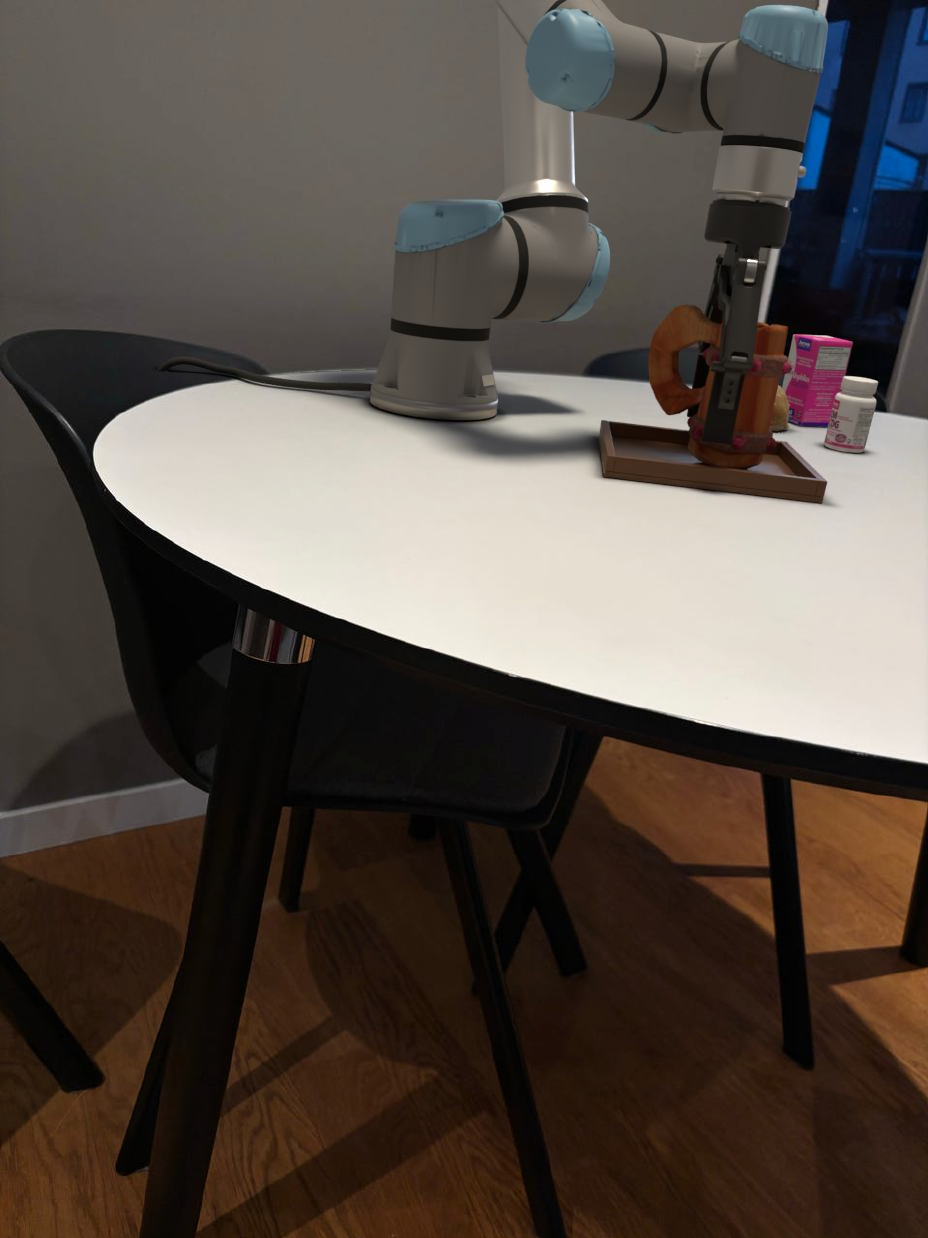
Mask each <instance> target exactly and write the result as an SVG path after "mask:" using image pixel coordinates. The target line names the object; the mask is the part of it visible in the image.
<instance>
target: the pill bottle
mask: <svg viewBox="0 0 928 1238" xmlns="http://www.w3.org/2000/svg"><path fill="white" fill-rule="evenodd" d="M878 385H879V382H878V380H875V379H872V378H867V377H862V376H852V375H845V376H844V377H843V380H842V383H841V389H842V391H841V392H839V393H837V394H836V396H835V399H834V403H833V408H832V412H831V416H830V420H829V424H828V427H827V429H826V433H825V437H824V442H823V445H824V446H825V447H826V448H827V449H831V450H833V451H838V452H843V453H851V454H852V453H854V454H861V453H863V452H864V451H865V450H866V449H865V448H866V446H867V441H868V438H869V434H870V429H871V426H872V422H873V418H874V415H875V410H876V407H877V399H876V398H875V397H874V395H875V394H876V392H877V388H878Z"/></svg>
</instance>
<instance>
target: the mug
mask: <svg viewBox="0 0 928 1238" xmlns="http://www.w3.org/2000/svg"><path fill="white" fill-rule="evenodd" d="M704 313H705V312H703V310H702V309H701V308H700V307H699V306H697V305H695V304H688V303H687V304H680V305H678V306H675V307H674V308H673V309H672V310H671V311H670V312H669V313H668V314H666V316H665V317H664V318H663V319H662V321H661V322H660V324H659V325H658V326H657V328H656V330H655V332H654V333H653V335H652V338H651V342H650V345H649V352H648V353H649V354H648V376H649V377H648V378H649V385H650V388H651V390H652V393H653V396H654V398H655V400H656V402H657V403H658V405H659V407H660V408H661V411H663V412H664V413H665V415H667V416H675V415H679V414H682V413H683V412H686V411H688V409H689V408H692V407H694V406H696V405H698V404H700V405H699V409H698V413H697V414H695V415H694V416H691V417H688V418H687V421H686V423H687V427H688V430H689V435H690V440H689V443H688V449H689V452H690V453H691V454H692V455H693V456H694V457H695V458H696V459H698V460H699V461H701V462H702V463H705V464H707V465H710V466H715V467H723V468H731V469H740V470H743V469H748V468H751V467H754V466H758V465H759V464H760V463H761V461H762V459H763V455H764V453H765V452H767V451H770V450H772V449H774V448H775V446H776V444H777V443H776V441H777V440H776V439H775V438H774V433H773V431H771V430H770V429H769V427H770V422H771V418H772V413H773V408H774V403H775V399H776V394H777V390H778V385H779V384H780V378H782V377H785V374H787V373H790V371H791V370H792V367H791V365H790V364H789V363H788V358H789V357H788V356H786V355H785V348H786V343H787V338H788V337H787V336H788V330H789V326H786V325H781V324H770V325H769V324H768V323H765V322H760V321H758V323H757V331H756V339H755V347H754V355H753V367H752V369H751V370H750V371H747V372H746V375H745V378H744V383H743V388H742V393H741V398H740V403H739V408H738V413H737V417H736V422H735V427H734V432H733V437H732V442H731V444H722V443H714V442H706V441H702V435H703V430H704V424H705V419H706V414H707V409H708V404H709V399H710V393H711V388H712V383H713V378H714V373H715V372H713V371H710V369H709V373H708V377H707V381H706V384H705V386H704V387H702V388H695V389H692V387H690V386H688V385H687V384H686V383H685V382H684V381H683V378H682V375H681V373H680V369H679V367H680V366H679V364H680V363H679V362H680V352H681V351H682V350H685V349H687V348H690V347H691V346H694V345H696V344H698V342H701V341H703V342H707V343H710V347H709V348H707V349H706V350H705V351H704V352H703V356H704V358H705V359H706V363H707V365H709V366H710V368H711V365H712V363H713V361H715V362H719V355H720V342H721V329H722V323H721V324H718V323H714V322H712V321H710V320H709V319H708V318H707V317H706V316H705V314H704ZM775 440H776V441H775Z"/></svg>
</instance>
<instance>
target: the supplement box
mask: <svg viewBox="0 0 928 1238" xmlns="http://www.w3.org/2000/svg"><path fill="white" fill-rule="evenodd" d="M853 344H854V342H853V341H850V340H847V339H842V338H839V337H838V338H837V337H835V336H834V337H833V336H830V335H818V334H814V335H813V334H798V333H797V334H793V335H792V339H791V344H790V349H789V353H788V357H787V358H788V363H789V364H790V365H791V367H792V370H791V371H790V373H787V374H785V375H784V376H783V382H782V386H781V388H782V389H783V391H784V392H785V394H786V397H787V400H788V402H789V404H790V406H789V418H788V422H789V423H792V424H796V425H797V426H800V427H816V428H817V427H818V428H819V427H820V428H828V424H829V420H830V416H831V412H832V408H833V403H834V399H835V396H836V394H837V393H839V392H841V391H842V389H841V383H842V380H843V377H844V376H847V375H846V374H847V369H848V366H849V361H850V357H851V353H852V348H853Z"/></svg>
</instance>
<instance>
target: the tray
mask: <svg viewBox="0 0 928 1238" xmlns="http://www.w3.org/2000/svg"><path fill="white" fill-rule="evenodd" d="M689 440H690V435H689V429H681V428H671V427H665V426H664V427H663V426H655V425H647V424H638V423H630V422H621V421H611V420H604V419H601V420H600V426H599V433H598V444H599V451H600V457H601V458H600V459H601V465H602V466H601V467H602V473H603V477H604V478H609V479H610V478H611V479H619V480H626V481H635V482H641V483H642V482H643V483H650V484H651V483H652V484H658V485H659V484H660V485H668V486H677V487H684V488H685V487H686V488H693V489H702V490H708V491H709V490H710V491H717V492H718V491H719V492H727V493H734V494H735V493H736V494H743V495H751V496H758V497H759V496H761V497H767V498H776V499H783V500H793V501H799V502H800V501H801V502H808V503H819V504H823V502H824V497H825V494H826V491H827V486H828V481H827V479H826V478H824V476H823V475H821V474H820V472H818V471H817V470H816V469H815V468H814V467H813V466H812V465H811V464H810V463H809V462H808V461H807V460H806V459H805V458H804V457H803V456H802V455H801V454H800V453H799V452H798V451H797V450H796V449H795V448H794V447H792V445H791V444H789V442H787V441H782V440H776V439H775V441H776V443H777V444H776V446H775V448H774V449H772V450H770V451H767V452H765V453H764V455H763V459H762V461H761V463H760V464H759V465H758V466H754V467H751V468H748V469H743V470H740V469H731V468H723V467H715V466H710V465H707V464H705V463H702V462H701V461H699V460H698V459H696V458H695V457H694V456H693V455H692V454H691V453H690V452H689V449H688V443H689Z"/></svg>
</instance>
